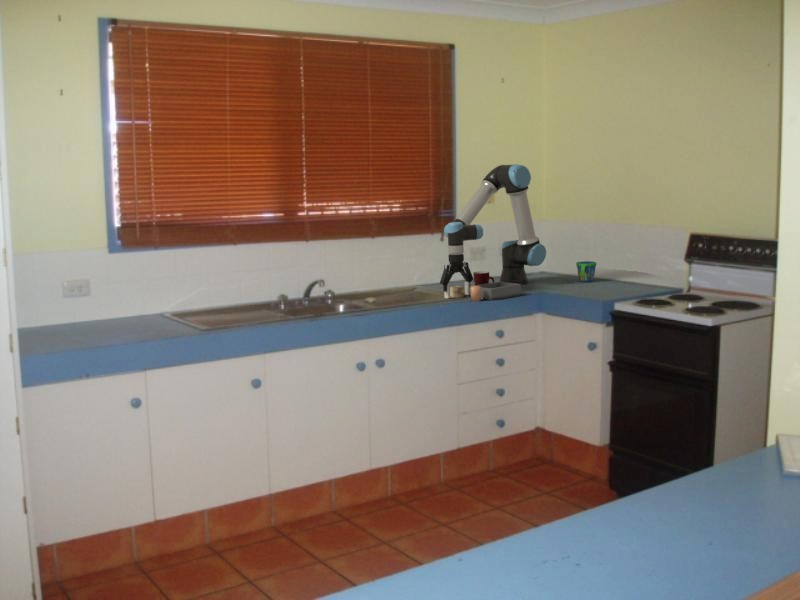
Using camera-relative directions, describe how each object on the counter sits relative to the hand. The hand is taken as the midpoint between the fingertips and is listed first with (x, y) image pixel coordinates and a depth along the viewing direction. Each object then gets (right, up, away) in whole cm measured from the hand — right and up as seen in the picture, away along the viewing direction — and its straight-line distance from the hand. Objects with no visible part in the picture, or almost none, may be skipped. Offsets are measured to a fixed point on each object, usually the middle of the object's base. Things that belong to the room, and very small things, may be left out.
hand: (457, 296), depth 446 cm
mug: (+15, +2, +14) cm, 20 cm away
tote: (+19, 0, -3) cm, 19 cm away
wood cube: (0, 0, 0) cm, 0 cm away
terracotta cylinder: (+8, -2, -14) cm, 16 cm away
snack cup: (+71, +8, +34) cm, 79 cm away
